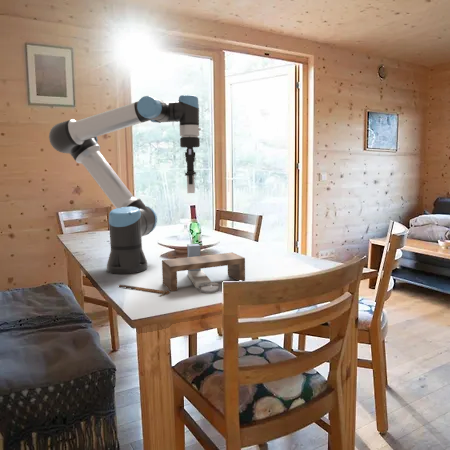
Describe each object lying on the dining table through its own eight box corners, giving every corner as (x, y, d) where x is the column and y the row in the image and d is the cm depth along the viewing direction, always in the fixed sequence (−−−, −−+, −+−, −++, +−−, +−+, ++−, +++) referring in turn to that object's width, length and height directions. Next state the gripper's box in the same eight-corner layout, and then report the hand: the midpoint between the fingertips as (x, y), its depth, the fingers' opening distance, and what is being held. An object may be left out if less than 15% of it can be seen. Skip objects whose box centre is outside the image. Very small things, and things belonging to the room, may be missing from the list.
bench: (171, 291, 133) (170, 266, 132) (162, 283, 142) (161, 260, 141) (245, 281, 143) (244, 257, 142) (232, 274, 152) (232, 252, 151)
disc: (206, 294, 130) (206, 289, 129) (194, 290, 135) (194, 284, 134) (222, 290, 133) (222, 285, 133) (211, 286, 139) (211, 281, 138)
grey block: (195, 287, 136) (195, 254, 135) (186, 273, 153) (185, 244, 152) (210, 286, 137) (210, 253, 136) (200, 272, 155) (199, 243, 153)
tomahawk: (107, 295, 134) (106, 291, 134) (122, 286, 140) (121, 283, 140) (156, 303, 125) (155, 299, 125) (170, 293, 131) (169, 289, 131)
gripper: (199, 134, 151) (201, 193, 154) (199, 138, 175) (200, 189, 179) (178, 134, 150) (180, 194, 153) (181, 138, 175) (182, 190, 178)
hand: (191, 191), depth 166 cm, fingers open, 13 cm apart
